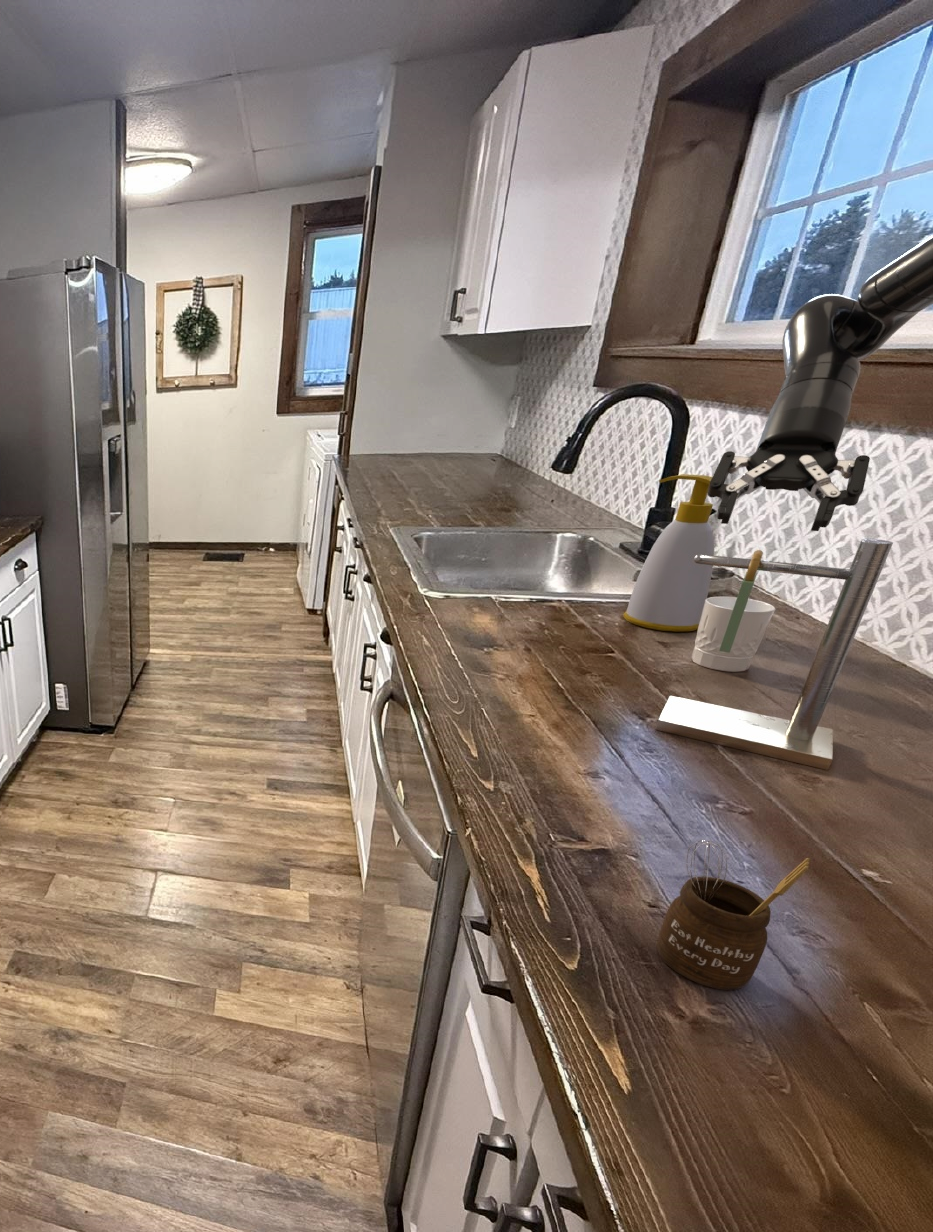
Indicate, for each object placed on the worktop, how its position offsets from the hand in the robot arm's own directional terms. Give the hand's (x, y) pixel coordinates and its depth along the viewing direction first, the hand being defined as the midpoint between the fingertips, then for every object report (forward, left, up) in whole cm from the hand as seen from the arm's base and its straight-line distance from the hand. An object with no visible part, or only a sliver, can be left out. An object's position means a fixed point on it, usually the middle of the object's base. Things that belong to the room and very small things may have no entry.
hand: (769, 523), depth 93 cm
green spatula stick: (+3, +11, -14) cm, 18 cm away
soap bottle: (0, -36, -25) cm, 44 cm away
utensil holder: (+14, +62, -25) cm, 68 cm away
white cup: (-4, -16, -25) cm, 30 cm away
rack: (0, +11, -25) cm, 28 cm away
